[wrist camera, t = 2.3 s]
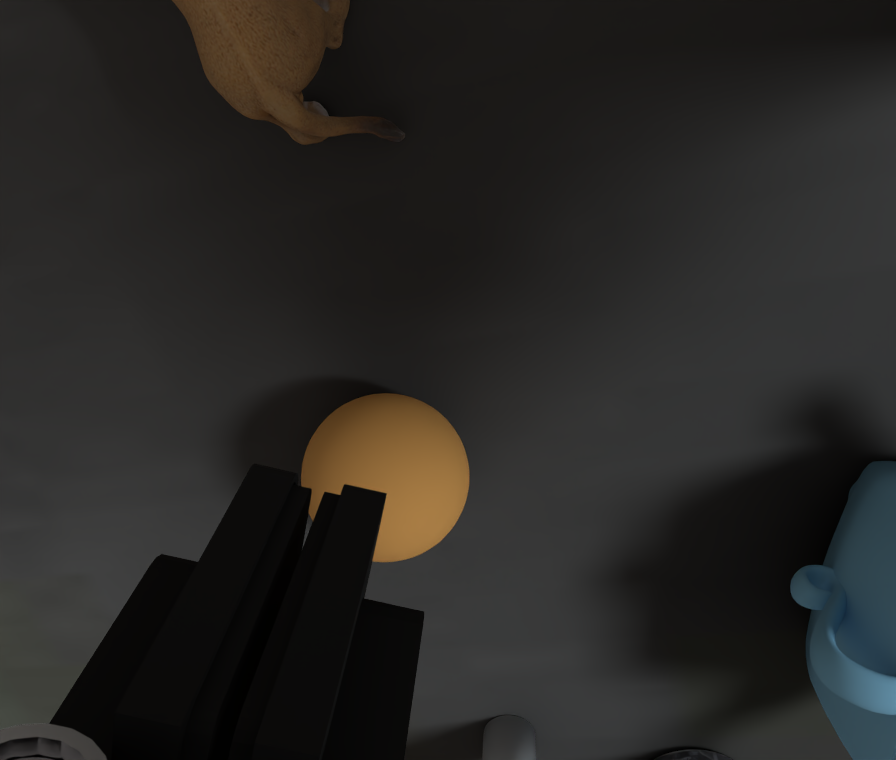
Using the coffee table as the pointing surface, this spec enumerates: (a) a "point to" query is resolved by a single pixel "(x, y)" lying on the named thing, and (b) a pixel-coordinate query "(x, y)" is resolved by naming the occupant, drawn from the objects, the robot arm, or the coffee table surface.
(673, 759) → the pill bottle
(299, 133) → the lion figurine
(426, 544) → the ball
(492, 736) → the grey pin
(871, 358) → the coffee table surface
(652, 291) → the coffee table surface
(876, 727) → the teapot
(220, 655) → the robot arm
